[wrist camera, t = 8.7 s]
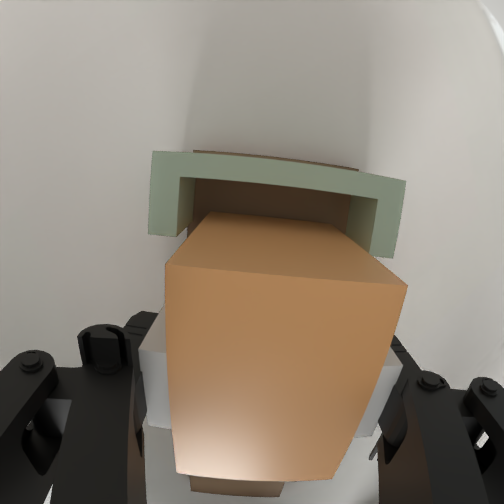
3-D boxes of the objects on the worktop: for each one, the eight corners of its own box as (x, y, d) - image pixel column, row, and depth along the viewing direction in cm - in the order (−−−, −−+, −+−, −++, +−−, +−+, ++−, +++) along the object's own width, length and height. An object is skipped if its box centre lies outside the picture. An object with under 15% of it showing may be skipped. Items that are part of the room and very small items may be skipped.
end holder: (330, 383, 15) (343, 421, 13) (169, 371, 15) (156, 408, 12) (374, 176, 13) (406, 181, 10) (174, 154, 12) (152, 150, 9)
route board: (278, 487, 20) (281, 528, 16) (192, 481, 20) (186, 522, 16) (351, 168, 13) (389, 171, 9) (197, 151, 13) (175, 145, 9)
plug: (282, 449, 16) (291, 543, 10) (201, 443, 16) (187, 538, 10) (331, 223, 13) (407, 285, 6) (210, 211, 13) (165, 263, 6)
